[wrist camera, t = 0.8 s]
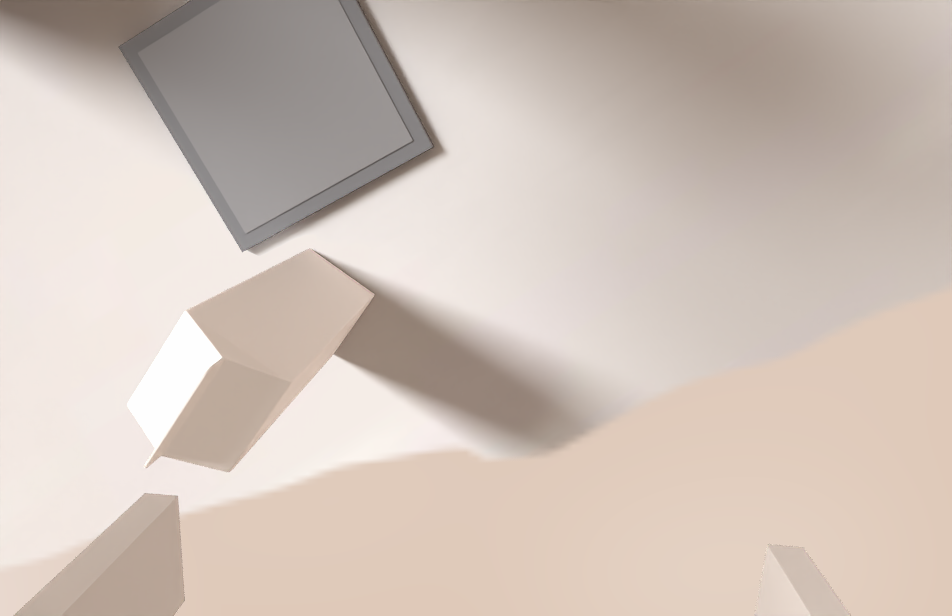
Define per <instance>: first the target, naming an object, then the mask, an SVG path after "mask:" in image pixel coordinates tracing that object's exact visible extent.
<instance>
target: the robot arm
mask: <svg viewBox="0 0 952 616" xmlns="http://www.w3.org/2000/svg"><path fill="white" fill-rule="evenodd" d="M184 601H185V597H184V582H183V567H182V551H181V536H180V520H179V505H178V496H173V495H161V494H149V493H145V494H144V495H143V496H142V497H140V498H139V499H138V500H137V501H136V502H135V503H134V504H133V505H132V506H131V507H130V508H129V509H128V510H127V511H125V512H124V513H123V514H122V515H121V516H120V517H119V518H118V519H117V520H116V521H115V522H114V523H113V524H111V525H110V526H109V527H108V528H107V529H106V530H105V531H104V532H103V533H102V534H101V535H100V536H99V537H97V538H96V539H95V540H94V541H93V542H92V543H91V544H90V545H89V546H88V547H87V548H86V549H85V550H83V551H82V552H81V553H80V554H79V555H78V556H77V557H76V558H75V559H74V560H73V561H72V562H71V563H70V564H68V565H67V566H66V567H65V568H64V569H63V570H62V571H61V572H60V573H59V574H58V575H57V576H56V577H54V578H53V579H52V580H51V581H50V582H49V583H48V584H47V585H46V586H45V587H44V588H43V589H42V590H41V591H40V592H38V593H37V594H36V595H35V596H34V597H33V598H32V599H31V600H30V601H29V602H28V603H26V604H25V605H24V607H22V608H21V609H20V610H19V611H18V612H17V613H16V614H15V615H14V616H174V614H175V613H176V612H177V610H178V609H179V607H180V606H181V605H182V603H183V602H184ZM755 616H851V614H850V613H849V612H848V610H847V609H846V607H845V606H844V605H843V603H842V602H841V600H840V599H839V597H838V596H837V595H836V593H835V592H834V590H833V589H832V587H831V586H830V585H829V583H828V582H827V580H826V579H825V577H824V576H823V575H822V573H821V572H820V570H819V569H818V568H817V566H816V565H815V563H814V562H813V561H812V559H811V557H810V556H809V555H808V553H807V552H806V550H805V549H804V548H803V547H793V546H781V545H769V544H768V545H767V549H766V555H765V560H764V566H763V571H762V577H761V582H760V588H759V594H758V599H757V605H756V610H755Z"/></svg>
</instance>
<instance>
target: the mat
mask: <svg viewBox="0 0 952 616" xmlns="http://www.w3.org/2000/svg"><path fill="white" fill-rule="evenodd" d="M119 48H120V50H121V52H122V53H123V55H124V57H125V58H126V60H127V62H128V63H129V65H130V67H131V68H132V70H133V72H134V73H135V75H136V77H137V78H138V80H139V82H140V83H141V85H142V87H143V88H144V90H145V92H146V93H147V95H148V97H149V98H150V100H151V101H152V103H153V105H154V106H155V108H156V110H157V111H158V113H159V115H160V116H161V118H162V120H163V121H164V123H165V125H166V126H167V128H168V130H169V131H170V133H171V135H172V136H173V138H174V140H175V141H176V143H177V145H178V146H179V148H180V150H181V151H182V153H183V155H184V156H185V158H186V159H187V161H188V163H189V164H190V166H191V168H192V169H193V171H194V173H195V174H196V176H197V178H198V179H199V181H200V183H201V184H202V186H203V188H204V189H205V191H206V193H207V194H208V196H209V198H210V199H211V201H212V203H213V204H214V206H215V208H216V209H217V211H218V213H219V214H220V216H221V217H222V219H223V221H224V222H225V224H226V226H227V227H228V229H229V231H230V232H231V234H232V236H233V237H234V239H235V241H236V242H237V244H238V246H239V247H240V249H241V251H242V252H243V251H246V250H248V249H250V248H251V247H253V246H255V245H257V244H259V243H260V242H262V241H264V240H266V239H268V238H270V237H271V236H273V235H275V234H277V233H279V232H280V231H282V230H284V229H286V228H288V227H289V226H291V225H293V224H295V223H297V222H299V221H300V220H302V219H304V218H306V217H308V216H309V215H311V214H313V213H315V212H317V211H319V210H320V209H322V208H324V207H326V206H328V205H329V204H331V203H333V202H335V201H337V200H338V199H340V198H342V197H344V196H346V195H348V194H349V193H351V192H353V191H355V190H357V189H358V188H360V187H362V186H364V185H366V184H367V183H369V182H371V181H373V180H375V179H377V178H378V177H380V176H382V175H384V174H386V173H387V172H389V171H391V170H393V169H395V168H397V167H398V166H400V165H402V164H404V163H406V162H407V161H409V160H411V159H413V158H415V157H416V156H418V155H420V154H422V153H424V152H426V151H427V150H429V149H431V148H433V147H434V146H433V144H432V142H431V140H430V138H429V136H428V134H427V132H426V131H425V129H424V127H423V125H422V123H421V121H420V119H419V117H418V115H417V113H416V112H415V110H414V108H413V106H412V104H411V102H410V100H409V98H408V96H407V94H406V92H405V91H404V89H403V87H402V85H401V83H400V81H399V79H398V77H397V75H396V73H395V72H394V70H393V68H392V66H391V64H390V62H389V60H388V58H387V56H386V54H385V52H384V51H383V49H382V47H381V45H380V43H379V41H378V39H377V37H376V35H375V33H374V32H373V30H372V28H371V26H370V24H369V22H368V20H367V18H366V16H365V14H364V12H363V11H362V9H361V7H360V5H359V3H358V1H357V0H191V1H190V2H188V3H186V4H185V5H183V6H182V7H180V8H179V9H177V10H175V11H174V12H172V13H171V14H169V15H168V16H166V17H165V18H163V19H161V20H160V21H158V22H157V23H155V24H154V25H152V26H150V27H149V28H147V29H146V30H144V31H143V32H141V33H140V34H138V35H136V36H135V37H133V38H132V39H130V40H129V41H127V42H125V43H124V44H122V45H121V46H119Z"/></svg>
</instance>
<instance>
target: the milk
mask: <svg viewBox="0 0 952 616" xmlns="http://www.w3.org/2000/svg"><path fill="white" fill-rule="evenodd" d="M374 296H375V294H374V293H372V292H371V291H369V290H368V289H367V288H365V287H364V286H362V285H361V284H360V283H358V282H357V281H355V280H354V279H352V278H351V277H350V276H348V275H347V274H345V273H344V272H343V271H341V270H340V269H338V268H337V267H335V266H334V265H333V264H331V263H330V262H328V261H327V260H326V259H324V258H323V257H321V256H320V255H319V254H317V253H316V252H314V251H313V250H311V249H307V250H305V251H303V252H301V253H299V254H297V255H295V256H293V257H291V258H289V259H287V260H285V261H283V262H281V263H279V264H277V265H275V266H273V267H271V268H269V269H267V270H265V271H263V272H261V273H259V274H257V275H255V276H253V277H251V278H249V279H247V280H245V281H243V282H241V283H239V284H237V285H235V286H233V287H231V288H229V289H227V290H225V291H223V292H221V293H219V294H217V295H215V296H213V297H211V298H209V299H207V300H205V301H203V302H201V303H199V304H197V305H195V306H193V307H191V308H189V309H187V310H186V311H185V312H184V313H183V315H182V316H181V318H180V320H179V321H178V323H177V325H176V326H175V328H174V329H173V331H172V333H171V334H170V336H169V337H168V339H167V341H166V342H165V344H164V345H163V347H162V349H161V350H160V352H159V354H158V355H157V357H156V358H155V360H154V362H153V363H152V365H151V366H150V368H149V370H148V371H147V373H146V375H145V376H144V378H143V379H142V381H141V383H140V384H139V386H138V387H137V389H136V391H135V392H134V394H133V395H132V397H131V399H130V400H129V402H128V408H129V409H130V411H131V412H132V414H133V415H134V417H135V418H136V420H137V421H138V423H139V425H140V426H141V428H142V429H143V431H144V432H145V434H146V435H147V437H148V438H149V440H150V441H151V443H152V444H153V446H154V447H155V449H154V451H153V452H152V454H151V455H150V457H149V458H148V460H147V462H146V463H145V465H144V467H145V468H147V467H148V466H150V465H151V464H152V463H153V462H154V461H155V460H157V459H158V458H159V457H160V456H164V457H168V458H172V459H176V460H180V461H184V462H188V463H192V464H196V465H200V466H204V467H208V468H212V469H216V470H220V471H224V472H230V471H231V470H232V469H233V468H234V467H235V466H236V465H237V464H238V463H239V461H240V460H241V459H242V458H243V457H244V456H245V455H246V453H247V452H248V451H249V450H250V449H251V448H252V447H253V445H254V444H255V443H256V442H257V441H258V440H259V439H260V437H261V436H262V435H263V434H264V433H265V432H266V431H267V430H268V428H269V427H270V426H271V425H272V424H273V423H274V422H275V420H276V419H277V418H278V417H279V416H280V415H281V414H282V412H283V411H284V410H285V409H286V408H287V407H288V406H289V404H290V403H291V402H292V401H293V400H294V399H295V398H296V396H297V395H298V394H299V393H300V392H301V391H302V390H303V389H304V387H305V386H306V385H307V384H308V383H309V382H310V381H311V379H312V378H313V377H314V376H315V375H316V374H317V373H318V371H319V370H320V369H321V368H322V367H323V366H324V365H325V363H326V362H327V361H328V360H329V359H330V358H331V357H332V355H333V354H334V353H335V351H336V350H337V349H338V347H339V346H340V344H341V343H342V341H343V340H344V339H345V337H346V336H347V334H348V333H349V332H350V330H351V329H352V327H353V326H354V324H355V323H356V322H357V320H358V319H359V317H360V316H361V314H362V313H363V312H364V310H365V309H366V307H367V306H368V304H369V303H370V302H371V300H372V299H373V297H374Z"/></svg>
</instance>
